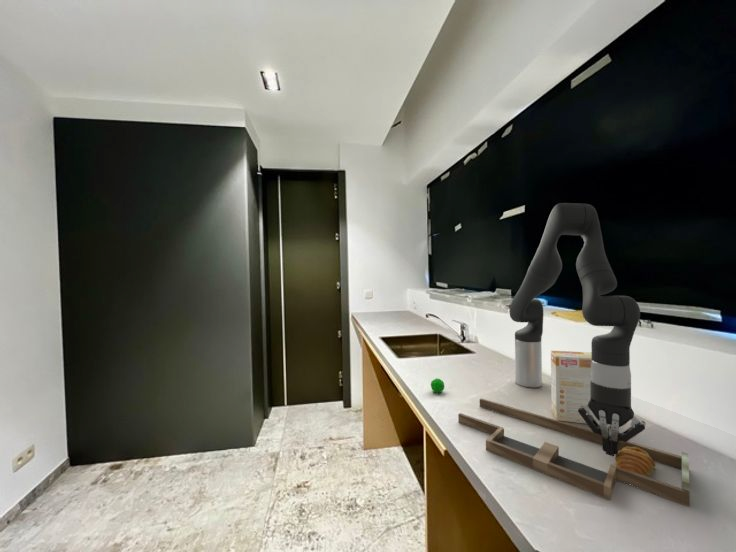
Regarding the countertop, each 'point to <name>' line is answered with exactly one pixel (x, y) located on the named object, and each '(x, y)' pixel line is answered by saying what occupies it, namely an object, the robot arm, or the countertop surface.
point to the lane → (546, 465)
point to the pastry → (635, 461)
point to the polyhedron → (437, 385)
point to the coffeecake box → (570, 384)
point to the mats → (557, 460)
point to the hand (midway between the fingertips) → (610, 453)
